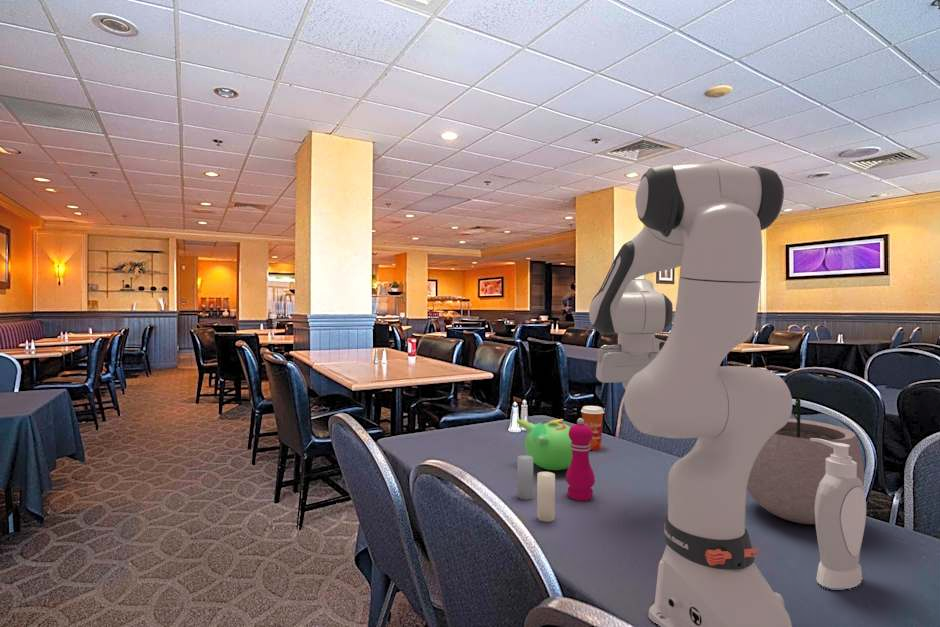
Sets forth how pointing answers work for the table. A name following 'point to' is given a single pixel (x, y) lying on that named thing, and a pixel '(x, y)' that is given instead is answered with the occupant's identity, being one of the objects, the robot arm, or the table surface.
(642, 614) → the table surface
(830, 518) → the soap bottle
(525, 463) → the slate post
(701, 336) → the robot arm
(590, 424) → the paper cup
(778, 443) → the plant pot
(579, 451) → the pepper mill
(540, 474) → the cream post
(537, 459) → the toy bird
